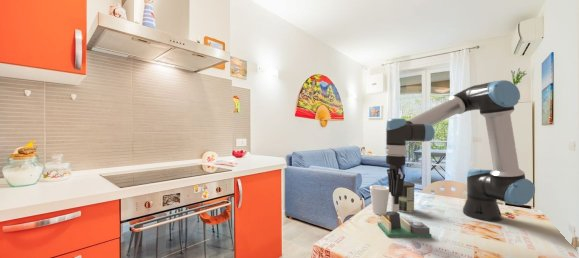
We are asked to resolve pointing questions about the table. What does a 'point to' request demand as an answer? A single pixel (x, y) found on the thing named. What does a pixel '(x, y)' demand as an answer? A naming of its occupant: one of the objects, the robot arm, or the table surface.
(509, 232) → the table surface
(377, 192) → the foam cup
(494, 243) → the table surface
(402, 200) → the coffee can
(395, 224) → the plug
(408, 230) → the board
